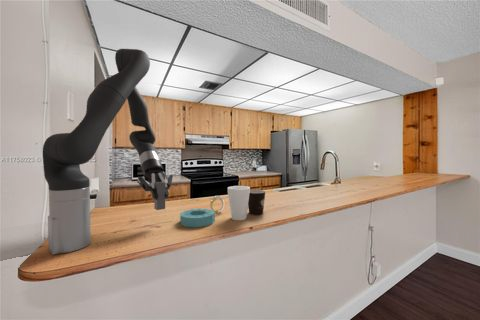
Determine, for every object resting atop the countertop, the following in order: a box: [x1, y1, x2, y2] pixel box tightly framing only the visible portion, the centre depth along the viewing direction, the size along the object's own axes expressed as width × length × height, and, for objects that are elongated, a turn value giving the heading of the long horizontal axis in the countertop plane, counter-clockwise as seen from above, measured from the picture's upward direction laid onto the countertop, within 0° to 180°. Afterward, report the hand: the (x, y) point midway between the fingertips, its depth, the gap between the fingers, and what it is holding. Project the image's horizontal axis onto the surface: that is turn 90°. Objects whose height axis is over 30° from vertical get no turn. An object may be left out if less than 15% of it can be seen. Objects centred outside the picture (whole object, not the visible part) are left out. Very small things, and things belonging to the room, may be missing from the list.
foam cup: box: [227, 185, 251, 221], centre depth 87 cm, size 10×9×13 cm
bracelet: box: [209, 195, 226, 214], centre depth 96 cm, size 7×3×8 cm, turn 115°
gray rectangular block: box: [153, 181, 166, 211], centre depth 78 cm, size 3×3×10 cm
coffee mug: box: [248, 189, 266, 216], centre depth 95 cm, size 12×9×10 cm
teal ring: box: [179, 208, 216, 228], centre depth 83 cm, size 13×13×4 cm
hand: (161, 197), depth 76 cm, fingers closed on gray rectangular block, 3 cm apart
